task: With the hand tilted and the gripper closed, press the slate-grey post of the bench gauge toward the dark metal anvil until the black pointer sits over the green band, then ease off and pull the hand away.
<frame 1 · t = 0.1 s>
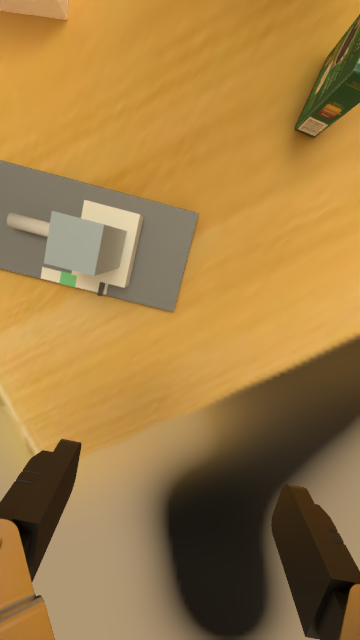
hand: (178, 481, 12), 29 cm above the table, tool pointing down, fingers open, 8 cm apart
gauge slider: (53, 244, 30), point 8 cm above the table, slide at 0.0 cm
coffee box: (319, 100, 35), on the table
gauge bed: (66, 232, 38), on the table
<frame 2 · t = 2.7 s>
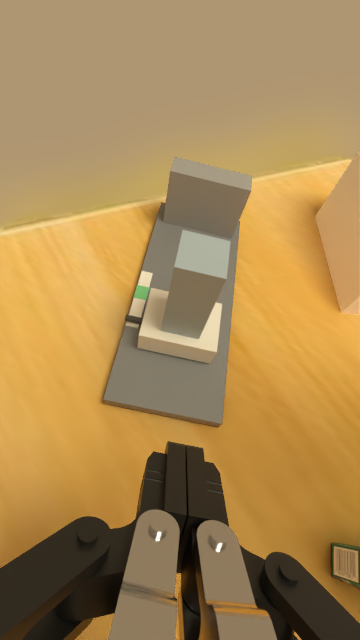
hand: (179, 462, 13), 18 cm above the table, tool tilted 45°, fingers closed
gauge slider: (184, 266, 32), point 8 cm above the table, slide at 0.0 cm
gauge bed: (183, 298, 40), on the table
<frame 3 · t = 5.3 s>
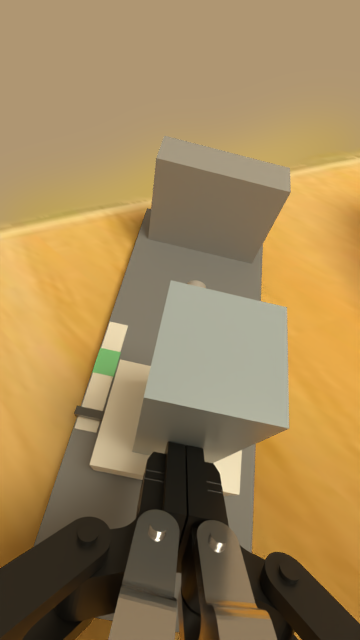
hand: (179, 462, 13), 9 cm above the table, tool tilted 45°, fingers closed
gauge slider: (179, 329, 17), point 8 cm above the table, slide at 0.4 cm, touching gripper
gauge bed: (178, 364, 25), on the table
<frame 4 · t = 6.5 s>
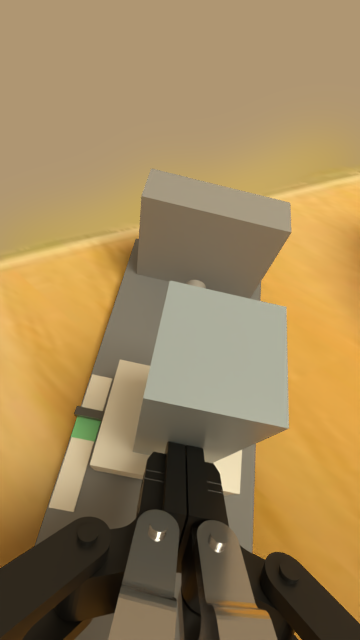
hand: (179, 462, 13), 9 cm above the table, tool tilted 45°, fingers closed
gauge slider: (178, 328, 17), point 8 cm above the table, slide at 4.7 cm, touching gripper
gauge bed: (168, 418, 23), on the table
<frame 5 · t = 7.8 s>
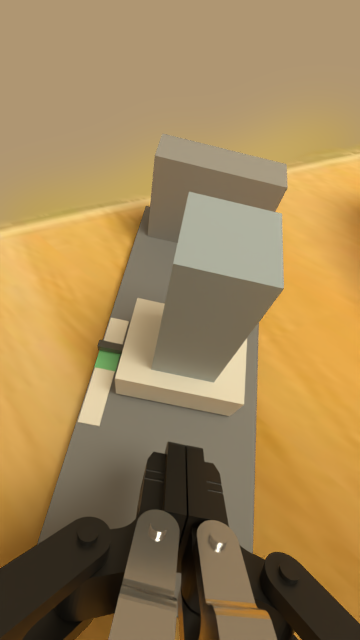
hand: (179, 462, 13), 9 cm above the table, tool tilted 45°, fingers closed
gauge slider: (190, 263, 20), point 8 cm above the table, slide at 4.7 cm
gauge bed: (179, 359, 25), on the table
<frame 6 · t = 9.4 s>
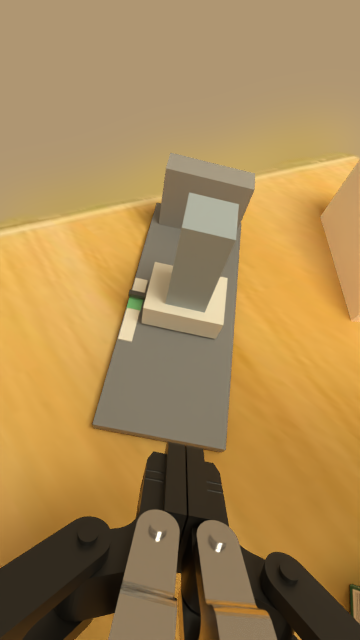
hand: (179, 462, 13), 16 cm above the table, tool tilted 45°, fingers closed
gauge slider: (189, 237, 31), point 8 cm above the table, slide at 4.7 cm
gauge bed: (181, 307, 37), on the table
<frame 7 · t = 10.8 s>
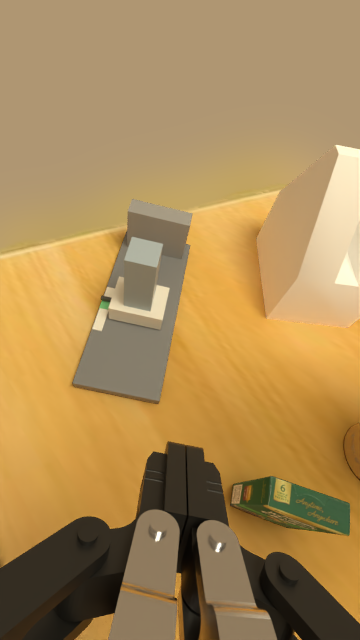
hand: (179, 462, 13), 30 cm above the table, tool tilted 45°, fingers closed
gauge slider: (140, 260, 46), point 8 cm above the table, slide at 4.7 cm
coffee box: (258, 505, 40), on the table
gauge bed: (140, 307, 52), on the table
white house-shaped block: (298, 281, 61), on the table
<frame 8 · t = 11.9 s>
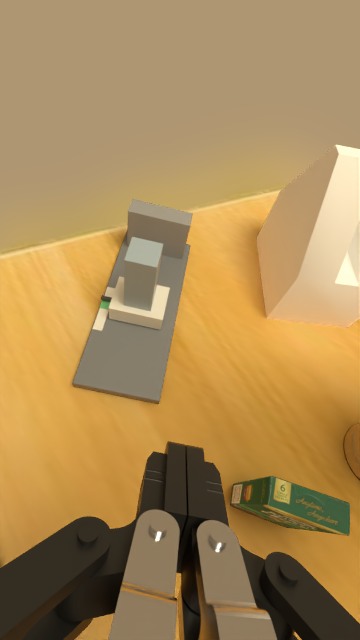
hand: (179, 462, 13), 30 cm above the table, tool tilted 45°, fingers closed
gauge slider: (140, 260, 46), point 8 cm above the table, slide at 4.7 cm
coffee box: (258, 505, 40), on the table
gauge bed: (140, 307, 52), on the table
white house-shaped block: (298, 281, 61), on the table
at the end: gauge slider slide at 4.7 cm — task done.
